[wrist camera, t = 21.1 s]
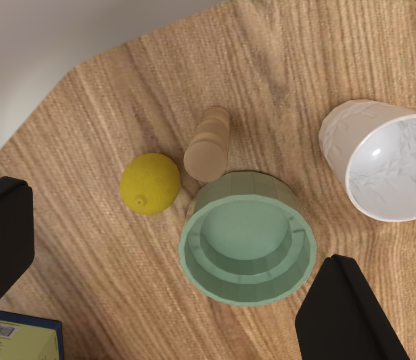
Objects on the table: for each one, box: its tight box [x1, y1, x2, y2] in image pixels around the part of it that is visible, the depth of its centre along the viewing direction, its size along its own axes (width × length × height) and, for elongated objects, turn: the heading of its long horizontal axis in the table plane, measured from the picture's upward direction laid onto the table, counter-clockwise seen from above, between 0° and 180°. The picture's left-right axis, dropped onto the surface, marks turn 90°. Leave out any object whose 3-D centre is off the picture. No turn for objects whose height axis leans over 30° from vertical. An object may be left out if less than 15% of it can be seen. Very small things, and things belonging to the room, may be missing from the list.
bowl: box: [178, 171, 317, 306], centre depth 32 cm, size 13×13×6 cm
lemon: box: [120, 153, 181, 215], centre depth 29 cm, size 6×6×8 cm
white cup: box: [318, 99, 416, 222], centre depth 25 cm, size 8×8×10 cm
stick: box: [184, 106, 230, 182], centre depth 25 cm, size 3×3×12 cm
